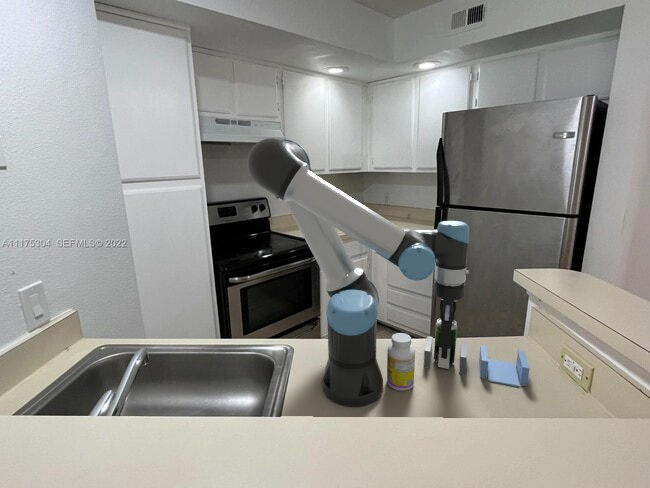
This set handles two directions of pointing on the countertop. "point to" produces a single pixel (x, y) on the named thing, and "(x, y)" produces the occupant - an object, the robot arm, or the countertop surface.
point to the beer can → (452, 341)
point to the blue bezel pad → (502, 373)
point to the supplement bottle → (400, 362)
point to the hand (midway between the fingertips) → (444, 360)
